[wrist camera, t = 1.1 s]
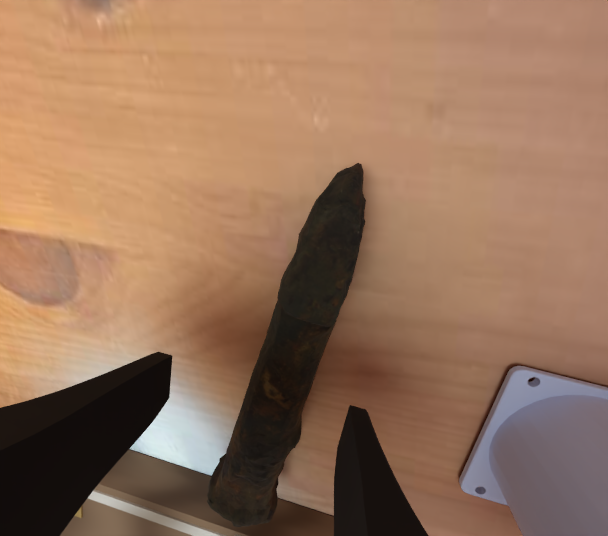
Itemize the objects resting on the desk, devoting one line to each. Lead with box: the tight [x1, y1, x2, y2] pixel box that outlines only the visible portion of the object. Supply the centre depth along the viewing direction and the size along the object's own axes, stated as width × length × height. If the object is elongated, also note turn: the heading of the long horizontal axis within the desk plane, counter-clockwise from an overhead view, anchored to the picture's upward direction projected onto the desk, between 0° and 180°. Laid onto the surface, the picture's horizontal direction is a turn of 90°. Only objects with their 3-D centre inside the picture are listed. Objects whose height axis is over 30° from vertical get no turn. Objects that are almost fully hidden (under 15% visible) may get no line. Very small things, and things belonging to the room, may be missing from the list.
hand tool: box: [207, 163, 366, 527], centre depth 14 cm, size 19×4×5 cm, turn 159°
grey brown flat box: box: [60, 449, 334, 536], centre depth 20 cm, size 26×8×3 cm, turn 78°
